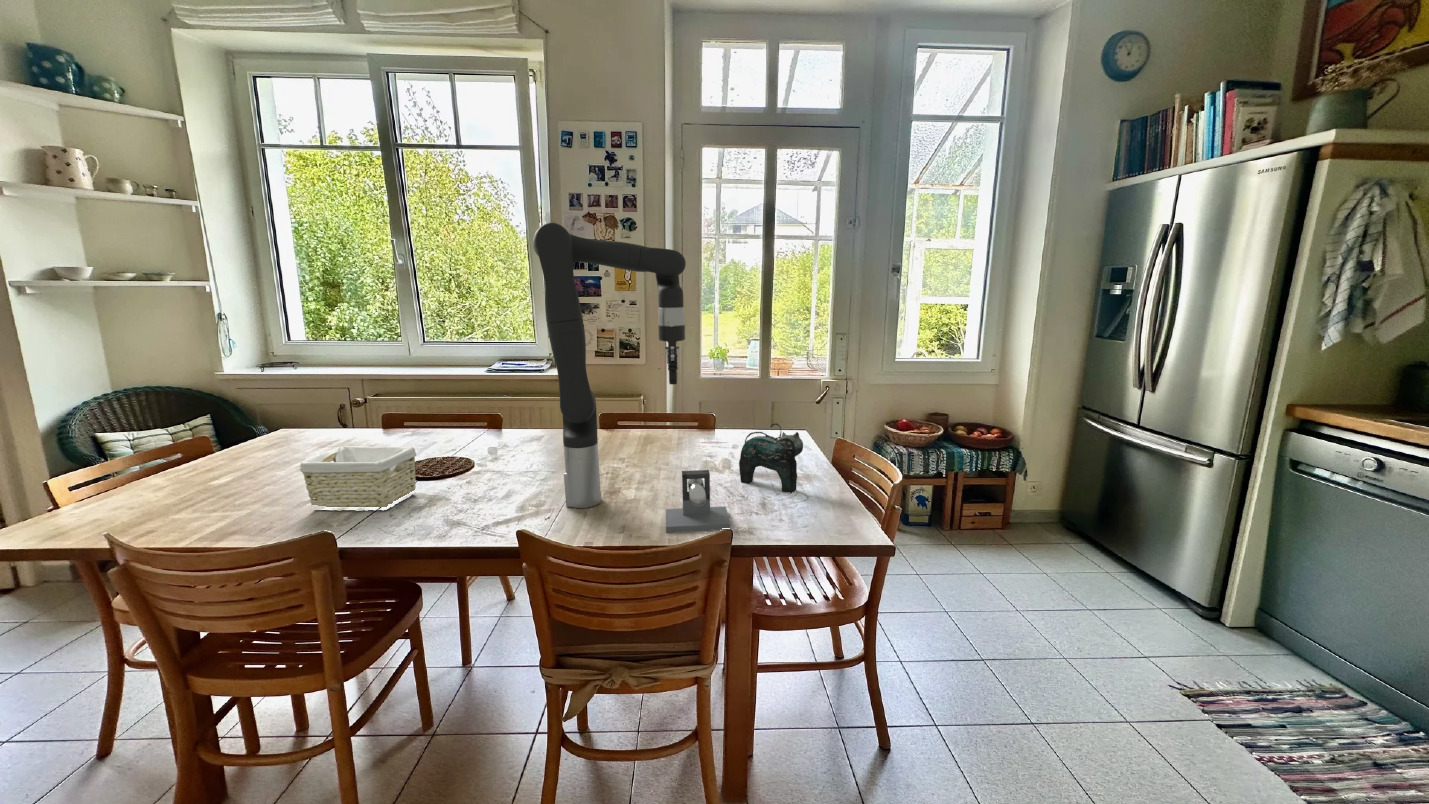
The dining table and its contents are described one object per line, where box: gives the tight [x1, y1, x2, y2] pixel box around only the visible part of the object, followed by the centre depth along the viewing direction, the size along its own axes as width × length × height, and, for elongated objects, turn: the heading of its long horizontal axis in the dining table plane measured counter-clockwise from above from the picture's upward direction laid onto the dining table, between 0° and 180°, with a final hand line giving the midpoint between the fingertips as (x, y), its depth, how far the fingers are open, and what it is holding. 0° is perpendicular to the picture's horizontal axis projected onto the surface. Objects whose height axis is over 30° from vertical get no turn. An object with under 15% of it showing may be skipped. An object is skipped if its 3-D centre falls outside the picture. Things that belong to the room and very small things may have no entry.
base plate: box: [665, 499, 731, 533], centre depth 139 cm, size 16×11×6 cm
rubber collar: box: [681, 469, 711, 502], centre depth 140 cm, size 7×3×7 cm, turn 95°
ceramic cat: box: [738, 422, 804, 494], centre depth 161 cm, size 20×6×20 cm, turn 56°
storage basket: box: [299, 445, 417, 507], centre depth 153 cm, size 24×16×15 cm
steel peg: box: [687, 479, 706, 507], centre depth 136 cm, size 4×11×4 cm, turn 5°
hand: (673, 383), depth 156 cm, fingers closed
